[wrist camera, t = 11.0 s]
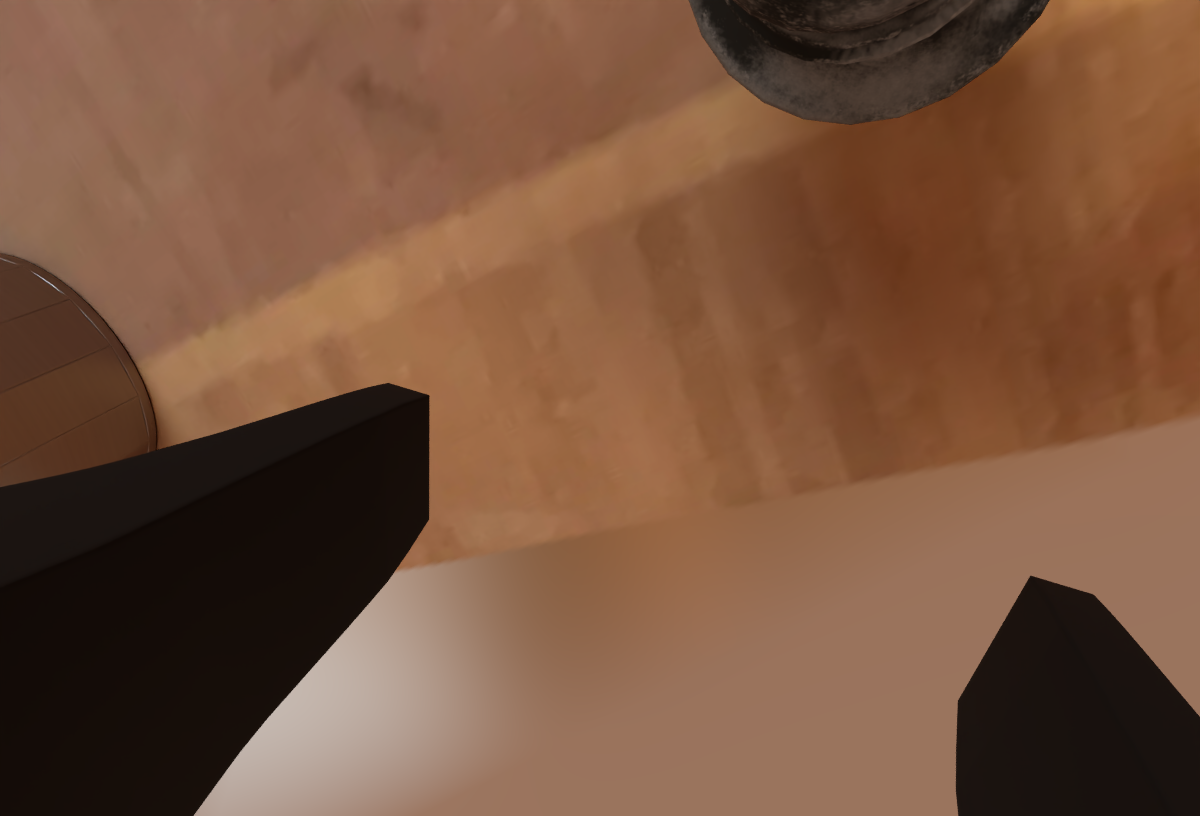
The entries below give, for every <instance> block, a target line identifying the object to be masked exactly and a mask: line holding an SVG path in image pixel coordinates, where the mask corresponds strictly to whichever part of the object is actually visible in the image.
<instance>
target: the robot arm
mask: <svg viewBox="0 0 1200 816" xmlns="http://www.w3.org/2000/svg"><path fill="white" fill-rule="evenodd" d="M428 520H429V395H427V394H423V393H420V392H417V391H413V390H410V389H407V388H403V387H400V386H397V385H393V384H390V383H386V384H381V385H377V386H372V387H368V388H364V389H360V390H357V391H353V392H350V393H346V394H343V395H339V396H336V397H333V398H329V399H326V400H323V401H320V402H316V403H313V404H310V405H307V406H304V407H300V408H297V409H294V410H291V411H288V412H284V413H281V414H278V415H275V416H272V417H268V418H265V419H262V420H259V421H256V422H252V423H249V424H246V425H243V426H239V427H236V428H233V429H230V430H227V431H223V432H220V433H217V434H213V435H210V436H206V437H202V438H199V439H195V440H192V441H188V442H184V443H181V444H177V445H174V446H170V447H166V448H163V449H159V450H156V451H152V452H148V453H145V454H141V455H138V456H134V457H130V458H127V459H123V460H120V461H116V462H112V463H107V464H103V465H99V466H95V467H91V468H87V469H83V470H78V471H74V472H70V473H65V474H61V475H56V476H51V477H47V478H42V479H37V480H32V481H27V482H22V483H18V484H13V485H8V486H3V487H0V816H194V814H195V813H196V811H197V810H198V809H199V807H200V806H201V805H202V803H203V802H204V801H205V799H206V798H207V796H208V795H209V794H210V792H211V791H212V790H213V788H214V787H215V785H216V784H217V782H218V781H219V780H220V779H221V777H222V776H223V774H224V773H225V772H226V770H227V769H228V768H229V766H230V765H231V764H232V762H233V761H234V759H235V758H236V757H237V755H238V754H239V753H240V751H241V750H242V749H243V747H244V746H245V745H246V744H247V743H248V742H249V740H250V739H251V738H252V737H253V735H254V734H255V733H256V732H257V731H258V729H259V728H260V727H261V726H262V724H263V723H264V722H265V721H266V720H267V718H268V717H269V716H270V715H271V714H272V713H273V711H274V710H275V709H276V708H277V707H278V706H279V705H280V703H281V702H282V701H283V700H284V699H285V698H286V697H287V696H288V694H289V693H290V692H291V691H292V690H293V689H294V688H295V687H296V685H297V684H298V683H299V682H300V681H301V680H302V679H303V678H304V677H305V675H306V674H307V673H308V672H309V671H310V670H311V669H312V667H313V666H314V665H315V664H316V663H317V662H318V660H320V658H321V657H322V656H323V655H324V654H325V653H326V652H327V651H328V649H329V648H330V647H331V646H332V645H333V644H334V643H335V642H336V640H337V639H338V638H339V637H340V636H341V635H342V634H343V633H344V631H345V630H346V629H347V628H348V627H349V626H350V625H351V623H352V622H353V621H354V620H355V619H356V618H357V617H358V615H359V614H360V613H361V612H362V611H363V610H364V608H365V607H366V606H367V605H368V604H369V603H370V602H371V600H372V599H373V598H374V597H375V596H376V595H377V593H378V592H379V591H380V590H381V589H382V588H383V586H384V585H385V584H386V583H387V582H388V580H389V579H390V577H391V576H392V575H393V573H394V572H395V570H396V569H397V567H398V566H399V565H400V563H401V562H402V560H403V559H404V557H405V556H406V554H407V553H408V551H409V550H410V548H411V547H412V545H413V544H414V542H415V541H416V539H417V537H418V536H419V534H420V533H421V531H422V530H423V528H424V526H425V525H426V523H427V522H428ZM956 796H957V806H958V816H1200V717H1199V715H1198V714H1197V713H1196V712H1195V711H1194V710H1193V708H1192V707H1191V706H1190V705H1189V704H1188V702H1187V701H1186V700H1185V699H1184V698H1183V696H1182V695H1181V694H1180V693H1179V692H1178V691H1177V689H1176V688H1175V687H1174V686H1173V685H1172V683H1171V682H1170V681H1169V680H1168V679H1167V678H1166V676H1165V675H1164V674H1163V673H1162V672H1161V670H1160V669H1159V668H1158V667H1157V666H1156V665H1155V663H1154V662H1153V661H1152V660H1151V659H1150V657H1149V656H1148V655H1147V654H1146V653H1145V652H1144V650H1143V649H1142V648H1141V647H1140V646H1139V644H1138V643H1137V642H1136V641H1135V640H1134V639H1133V638H1132V636H1131V635H1130V634H1129V633H1128V632H1127V631H1126V629H1125V628H1124V627H1123V626H1122V625H1121V624H1120V623H1119V621H1118V620H1117V619H1116V618H1115V617H1114V616H1113V615H1112V614H1111V612H1110V611H1108V609H1107V608H1106V607H1105V606H1104V605H1103V604H1102V603H1101V602H1100V601H1099V600H1098V599H1097V598H1096V597H1095V596H1094V595H1093V594H1090V593H1087V592H1083V591H1080V590H1077V589H1073V588H1070V587H1067V586H1063V585H1060V584H1057V583H1053V582H1050V581H1047V580H1043V579H1040V578H1037V577H1033V576H1030V578H1029V579H1028V581H1027V583H1026V584H1025V586H1024V588H1023V590H1022V591H1021V593H1020V595H1019V596H1018V598H1017V600H1016V602H1015V603H1014V605H1013V607H1012V609H1011V610H1010V612H1009V614H1008V616H1007V617H1006V619H1005V621H1004V622H1003V624H1002V626H1001V627H1000V629H999V631H998V633H997V634H996V636H995V638H994V640H993V641H992V643H991V645H990V647H989V648H988V650H987V652H986V653H985V655H984V657H983V659H982V660H981V662H980V664H979V666H978V667H977V669H976V671H975V672H974V674H973V676H972V678H971V679H970V681H969V683H968V684H967V686H966V688H965V690H964V691H963V693H962V695H961V696H960V698H959V700H958V714H957V744H956Z"/></svg>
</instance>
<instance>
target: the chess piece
mask: <svg viewBox="0 0 1200 816" xmlns="http://www.w3.org/2000/svg"><path fill="white" fill-rule="evenodd" d="M689 2H690V5H691V8H692V10H693V13H694V16H695V18H696V21H697V24H698V27H699V29H700V32H701V35H702V37H703V38H704V40H705V41H706V43H707V44H708V45H709V47H710V48H711V50H712V51H713V53H714V54H715V55H716V57H717V58H718V60H719V61H720V63H721V64H722V65H723V67H724V68H725V70H726V71H727V73H728V74H729V75H730V76H732V77H733V78H734V79H735V80H736V81H738V82H739V83H740V84H741V85H743V86H744V87H745V88H746V89H747V90H749V91H750V92H751V93H752V94H754V95H755V96H756V97H757V98H759V99H760V100H761V101H762V102H764V103H766V104H769V105H771V106H773V107H776V108H778V109H781V110H783V111H785V112H788V113H790V114H792V115H795V116H797V117H800V118H802V119H805V120H814V121H822V122H831V123H840V124H849V125H852V124H858V123H865V122H871V121H878V120H885V119H891V118H898V117H901V116H904V115H906V114H908V113H911V112H913V111H916V110H918V109H921V108H923V107H925V106H928V105H930V104H933V103H935V102H937V101H940V100H942V99H945V98H947V97H949V96H951V95H952V94H954V93H955V92H956V91H958V90H959V89H961V88H962V87H964V86H965V85H966V84H968V83H969V82H971V81H972V80H973V79H975V78H976V77H978V76H979V75H980V74H982V73H983V72H985V71H986V70H988V69H989V68H990V67H992V66H993V65H995V64H996V63H997V62H998V61H999V60H1000V59H1001V58H1002V57H1003V56H1004V55H1005V54H1006V53H1007V52H1008V50H1009V49H1010V48H1011V47H1012V46H1013V45H1014V44H1015V43H1016V42H1017V41H1018V40H1019V38H1020V37H1021V36H1022V35H1023V34H1024V33H1025V32H1026V31H1027V30H1028V29H1029V28H1030V27H1031V25H1032V24H1033V23H1034V22H1035V21H1036V20H1037V19H1038V18H1039V17H1040V16H1041V14H1042V12H1043V11H1044V9H1045V7H1046V5H1047V4H1048V2H1049V0H689Z"/></svg>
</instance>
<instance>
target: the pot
mask: <svg viewBox="0 0 1200 816" xmlns="http://www.w3.org/2000/svg"><path fill="white" fill-rule="evenodd" d="M155 450H156V426H155V420H154V414H153V410H152V407H151V403H150V400H149V397H148V394H147V392H146V389H145V387H144V384H143V382H142V380H141V378H140V376H139V374H138V372H137V370H136V368H135V366H134V364H133V362H132V361H131V359H130V357H129V356H128V354H127V352H126V351H125V349H124V348H123V346H122V345H121V343H120V342H119V340H118V339H117V338H116V336H115V335H114V333H113V332H112V331H111V330H110V328H109V327H108V326H107V325H106V324H105V322H104V321H103V320H102V319H101V317H100V316H99V315H98V314H97V313H96V312H95V311H94V310H93V309H92V308H91V307H90V306H89V305H88V304H87V303H86V302H85V301H84V300H83V299H82V298H81V297H80V296H78V295H77V294H76V293H75V292H74V291H73V290H72V289H70V288H69V287H68V286H66V285H65V284H64V283H63V282H61V281H60V280H59V279H57V278H56V277H54V276H53V275H51V274H49V273H48V272H46V271H45V270H43V269H41V268H39V267H37V266H35V265H33V264H31V263H29V262H27V261H25V260H22V259H19V258H16V257H14V256H9V255H5V254H0V487H3V486H8V485H13V484H18V483H22V482H27V481H32V480H37V479H42V478H47V477H51V476H56V475H61V474H65V473H70V472H74V471H78V470H83V469H87V468H91V467H95V466H99V465H103V464H107V463H112V462H116V461H120V460H123V459H127V458H130V457H134V456H138V455H141V454H145V453H148V452H152V451H155Z"/></svg>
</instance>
